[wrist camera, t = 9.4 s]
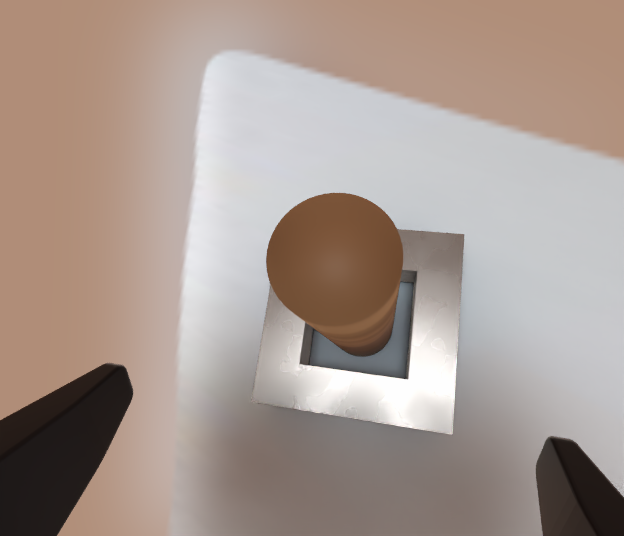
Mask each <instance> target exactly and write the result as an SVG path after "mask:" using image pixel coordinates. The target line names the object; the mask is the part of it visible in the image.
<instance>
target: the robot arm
mask: <svg viewBox="0 0 624 536" xmlns="http://www.w3.org/2000/svg"><path fill="white" fill-rule="evenodd" d="M132 397H133V388H132V385H131V382H130V379H129V376H128V372H127V370H126V368H125V367H124V366H123V365H119V364H113V363H106V364H103V365H101V366H99V367H98V368H96V369H94V370H92V371H90V372H88V373H87V374H85V375H83V376H81V377H79V378H77V379H76V380H74V381H72V382H70V383H68V384H66V385H64V386H63V387H61V388H59V389H57V390H55V391H54V392H52V393H50V394H48V395H46V396H44V397H43V398H41V399H39V400H37V401H35V402H33V403H31V404H29V405H28V406H26V407H24V408H22V409H20V410H19V411H17V412H15V413H13V414H11V415H9V416H7V417H6V418H4V419H2V420H0V536H57V535H58V533H59V532H60V530H61V528H62V527H63V525H64V523H65V522H66V520H67V518H68V517H69V515H70V513H71V512H72V510H73V508H74V507H75V505H76V504H77V502H78V500H79V499H80V497H81V495H82V494H83V492H84V490H85V489H86V487H87V485H88V484H89V482H90V480H91V479H92V477H93V475H94V474H95V472H96V470H97V469H98V467H99V465H100V463H101V462H102V460H103V458H104V456H105V454H106V452H107V450H108V448H109V446H110V444H111V442H112V440H113V438H114V436H115V434H116V431H117V429H118V427H119V425H120V423H121V421H122V419H123V417H124V415H125V413H126V411H127V409H128V407H129V405H130V403H131V400H132ZM536 480H537V488H538V497H539V506H540V514H541V523H542V531H543V536H624V497H623V496H622V495H621V494H620V492H619V491H618V490H617V489H616V488H615V487H614V486H613V484H612V483H611V482H610V481H609V480H608V479H607V478H606V476H605V475H604V474H603V473H602V472H601V471H600V470H599V468H598V467H597V466H596V465H595V464H594V463H593V462H592V460H591V459H590V458H589V457H588V456H587V455H586V454H585V452H584V451H583V450H582V449H581V448H580V447H579V446H578V444H577V443H575V442H574V441H573V440H571V439H566V438H560V437H554V436H550V437H548V438H547V440H546V442H545V444H544V446H543V449H542V451H541V454H540V456H539V458H538V461H537V464H536Z"/></svg>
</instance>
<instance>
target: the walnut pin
mask: <svg viewBox="0 0 624 536" xmlns="http://www.w3.org/2000/svg"><path fill="white" fill-rule="evenodd" d="M266 264H267V273H268V277H269V281H270V284H271V286H272V288H273V290H274V292H275V294H276V295H277V297H278V299H279V300H280V301H281V302H282V303H283V304H284V306H286V307H287V308H288V309H289V310H290V311H291V312H293V313H294V314H295V315H297V316H298V317H299V318H301V319H302V320H303V321H305V322H306V323H307V324H309V325H310V326H311V327H313V328H314V329H315V330H317V331H318V332H320V333H321V334H322V335H324V336H325V337H326V338H328V339H329V340H330V341H332V342H333V343H334V344H336V345H337V346H338V347H340V348H341V349H342V350H344V351H345V352H347V353H349V354H351V355H354V356H370V355H373V354H375V353H377V352H379V351H380V350H382V349H383V348H384V347H385V345H386V344H387V343H388V341H389V339H390V337H391V334H392V328H393V322H394V316H395V310H396V303H397V297H398V291H399V285H400V279H401V273H402V267H403V247H402V242H401V238H400V235H399V233H398V230H397V228H396V227H395V225H394V223H393V221H392V220H391V219H390V218H389V216H388V215H387V214H386V213H385V212H384V211H383V210H382V209H381V208H379V207H378V206H377V205H375V204H374V203H372V202H370V201H369V200H367V199H364V198H362V197H359V196H356V195H352V194H346V193H329V194H322V195H318V196H315V197H312V198H309V199H307V200H305V201H303V202H301V203H300V204H298V205H297V206H295V207H294V208H292V209H291V210H290V211H289V212H288V213H287V214H286V215H285V216H284V217H283V218H282V219H281V221H280V222H279V223H278V225H277V226H276V228H275V230H274V232H273V234H272V236H271V239H270V241H269V245H268V249H267V257H266Z"/></svg>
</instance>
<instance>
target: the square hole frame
mask: <svg viewBox="0 0 624 536" xmlns="http://www.w3.org/2000/svg"><path fill="white" fill-rule="evenodd" d="M397 230H398V233H399V235H400V238H401V242H402V247H403V267H402V273H401V279H400V281H401V282H411V283H414V289H413V300H412V312H411V324H410V336H409V347H408V359H407V371H406V379H400V378H393V377H386V376H379V375H372V374H365V373H358V372H351V371H344V370H337V369H330V368H323V367H316V366H309V357H310V350H311V343H312V336H313V329H314V328H313V327H311V326H310V325H309V324H307V323H306V322H305V321H303V320H302V319H301V318H299V317H298V316H297V315H295V314H294V313H293V312H291V311H290V310H289V309H288V308H287V307H286V306H284V304H283V303H282V302H281V301H280V300H279V299H278V297H277V295H276V294H275V292H274V290H273V288H272V286H271V285H270V291H269V297H268V303H267V309H266V315H265V321H264V327H263V333H262V339H261V345H260V351H259V357H258V363H257V369H256V375H255V381H254V387H253V393H252V399H251V402H255V403H261V404H267V405H274V406H280V407H286V408H292V409H298V410H304V411H310V412H316V413H322V414H328V415H335V416H341V417H347V418H353V419H359V420H365V421H371V422H377V423H383V424H390V425H396V426H402V427H408V428H414V429H420V430H426V431H432V432H438V433H444V434H451V435H452V434H453V417H454V400H455V383H456V366H457V349H458V332H459V315H460V298H461V280H462V263H463V246H464V234H452V233H439V232H426V231H412V230H399V229H397Z"/></svg>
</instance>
